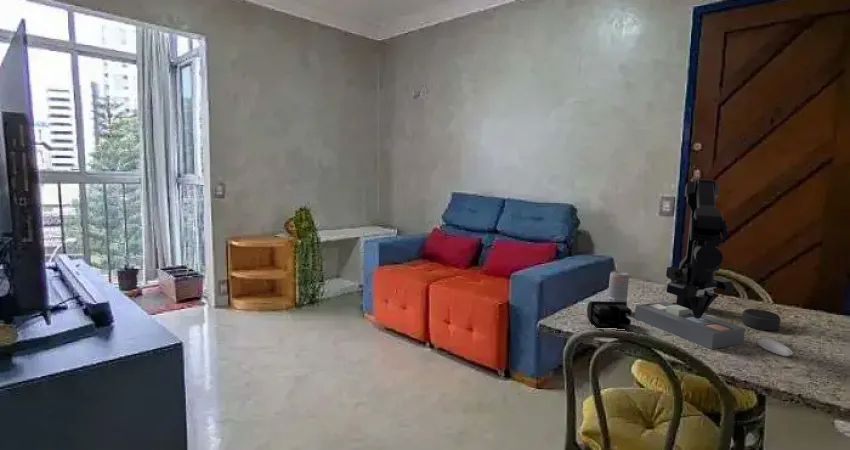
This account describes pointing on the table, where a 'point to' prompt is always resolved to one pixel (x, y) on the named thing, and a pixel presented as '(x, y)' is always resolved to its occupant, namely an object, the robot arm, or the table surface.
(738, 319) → the table surface
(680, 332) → the keypad
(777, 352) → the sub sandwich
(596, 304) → the end cap
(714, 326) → the key terracotta
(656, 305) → the key ivory
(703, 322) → the key slate
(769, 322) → the smart speaker
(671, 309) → the key sage
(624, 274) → the energy drink
